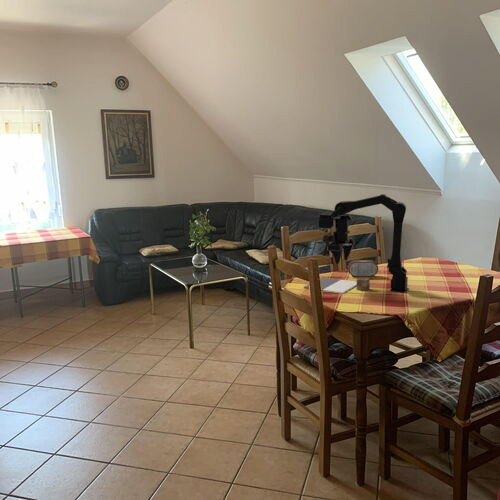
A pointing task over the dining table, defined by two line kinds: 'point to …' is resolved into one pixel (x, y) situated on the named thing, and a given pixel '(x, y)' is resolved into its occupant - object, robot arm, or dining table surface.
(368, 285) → the brown cylinder
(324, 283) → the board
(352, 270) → the tin
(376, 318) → the dining table surface
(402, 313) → the dining table surface
